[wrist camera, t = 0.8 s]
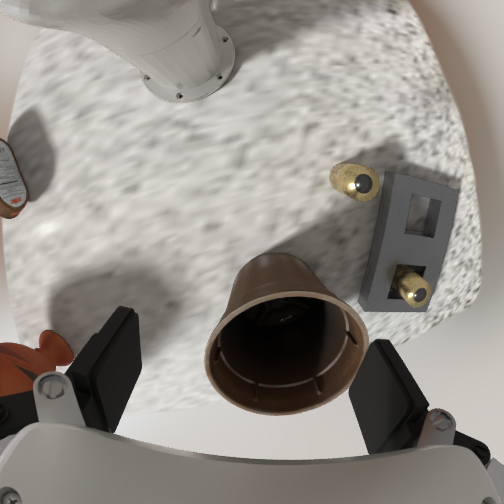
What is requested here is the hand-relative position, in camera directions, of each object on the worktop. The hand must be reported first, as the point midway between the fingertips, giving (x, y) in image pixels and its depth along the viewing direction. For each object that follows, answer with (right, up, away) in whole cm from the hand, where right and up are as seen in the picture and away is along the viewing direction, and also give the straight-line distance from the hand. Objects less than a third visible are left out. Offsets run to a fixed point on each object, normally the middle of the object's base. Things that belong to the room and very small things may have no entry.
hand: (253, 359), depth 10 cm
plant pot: (+3, -1, +31) cm, 31 cm away
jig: (+23, +5, +28) cm, 37 cm away
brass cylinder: (+12, +14, +25) cm, 31 cm away
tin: (-40, +18, +24) cm, 50 cm away
